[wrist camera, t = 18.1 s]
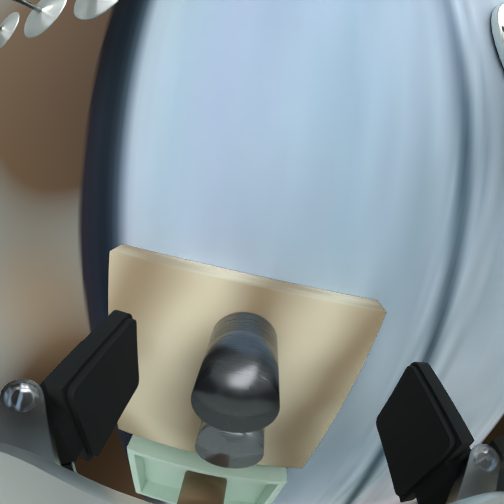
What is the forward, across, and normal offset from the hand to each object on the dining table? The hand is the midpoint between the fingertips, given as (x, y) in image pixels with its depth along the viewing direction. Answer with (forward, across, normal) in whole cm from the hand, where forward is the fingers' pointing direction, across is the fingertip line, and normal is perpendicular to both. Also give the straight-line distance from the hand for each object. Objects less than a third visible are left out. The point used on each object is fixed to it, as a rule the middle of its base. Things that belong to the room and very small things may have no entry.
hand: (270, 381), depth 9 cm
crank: (+5, +1, +5) cm, 7 cm away
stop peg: (+6, +2, +20) cm, 21 cm away
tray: (+7, +2, +20) cm, 21 cm away
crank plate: (+7, +2, +7) cm, 10 cm away
